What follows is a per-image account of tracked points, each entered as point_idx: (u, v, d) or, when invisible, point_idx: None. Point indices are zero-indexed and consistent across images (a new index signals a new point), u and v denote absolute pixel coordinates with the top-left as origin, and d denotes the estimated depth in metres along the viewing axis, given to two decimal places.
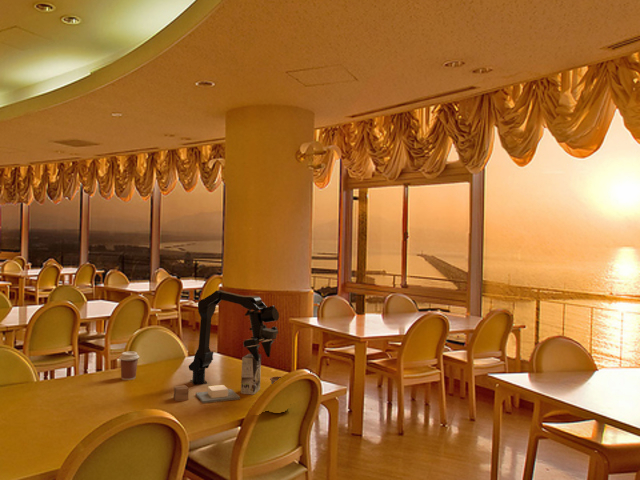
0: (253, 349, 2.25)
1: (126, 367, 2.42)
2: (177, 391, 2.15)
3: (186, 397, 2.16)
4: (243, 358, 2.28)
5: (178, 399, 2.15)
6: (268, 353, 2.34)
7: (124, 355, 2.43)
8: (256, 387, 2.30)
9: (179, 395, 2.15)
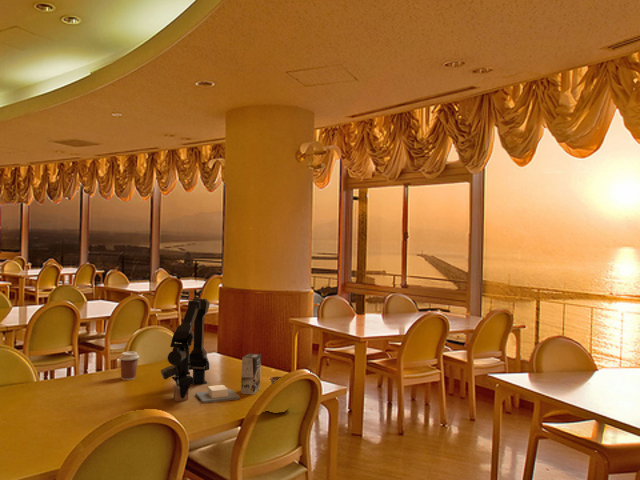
0: None
1: (126, 367, 2.42)
2: (177, 391, 2.15)
3: (186, 397, 2.16)
4: (243, 358, 2.28)
5: (178, 399, 2.15)
6: None
7: (124, 355, 2.43)
8: (256, 387, 2.30)
9: (179, 395, 2.15)
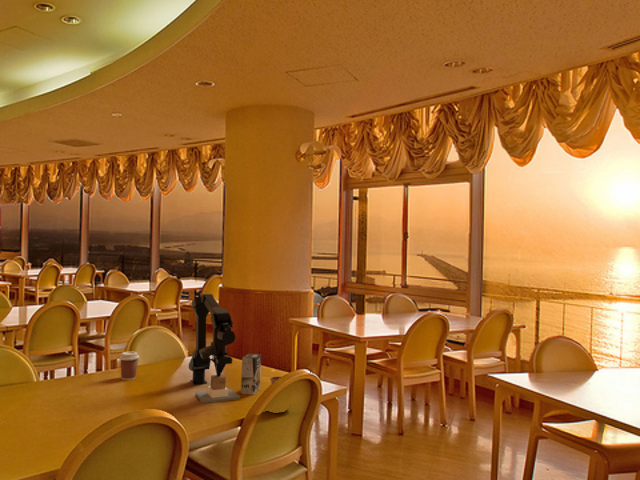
0: None
1: (126, 367, 2.42)
2: (215, 380, 2.19)
3: (223, 386, 2.21)
4: (243, 358, 2.28)
5: (216, 387, 2.19)
6: None
7: (124, 355, 2.43)
8: (256, 387, 2.30)
9: (216, 384, 2.19)
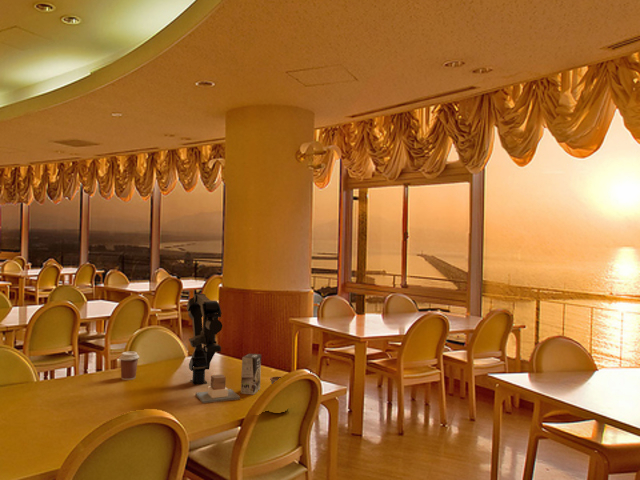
0: None
1: (126, 367, 2.42)
2: (215, 380, 2.19)
3: (223, 386, 2.21)
4: (243, 358, 2.28)
5: (216, 387, 2.19)
6: None
7: (124, 355, 2.43)
8: (256, 387, 2.30)
9: (216, 384, 2.19)
